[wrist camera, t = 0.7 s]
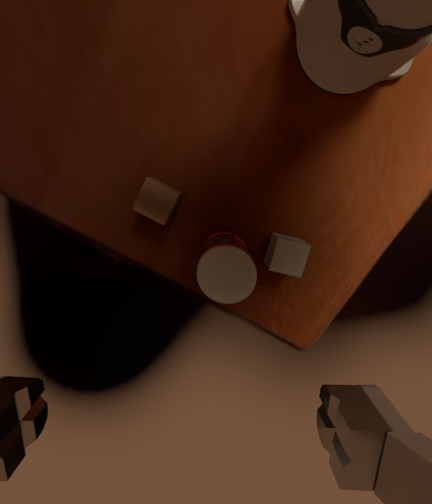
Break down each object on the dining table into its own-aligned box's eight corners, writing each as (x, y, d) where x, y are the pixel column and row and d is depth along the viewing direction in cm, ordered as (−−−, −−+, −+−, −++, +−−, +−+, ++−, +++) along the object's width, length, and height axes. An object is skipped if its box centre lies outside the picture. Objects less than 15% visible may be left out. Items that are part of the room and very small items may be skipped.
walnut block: (154, 177, 43) (146, 176, 39) (183, 192, 44) (179, 194, 39) (141, 205, 45) (131, 209, 40) (169, 220, 45) (163, 225, 40)
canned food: (232, 284, 48) (236, 314, 37) (192, 260, 47) (184, 284, 36) (258, 247, 46) (269, 267, 35) (216, 221, 45) (216, 234, 34)
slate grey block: (272, 231, 45) (278, 238, 41) (301, 239, 46) (311, 246, 41) (263, 260, 47) (268, 270, 42) (292, 267, 47) (301, 277, 42)
